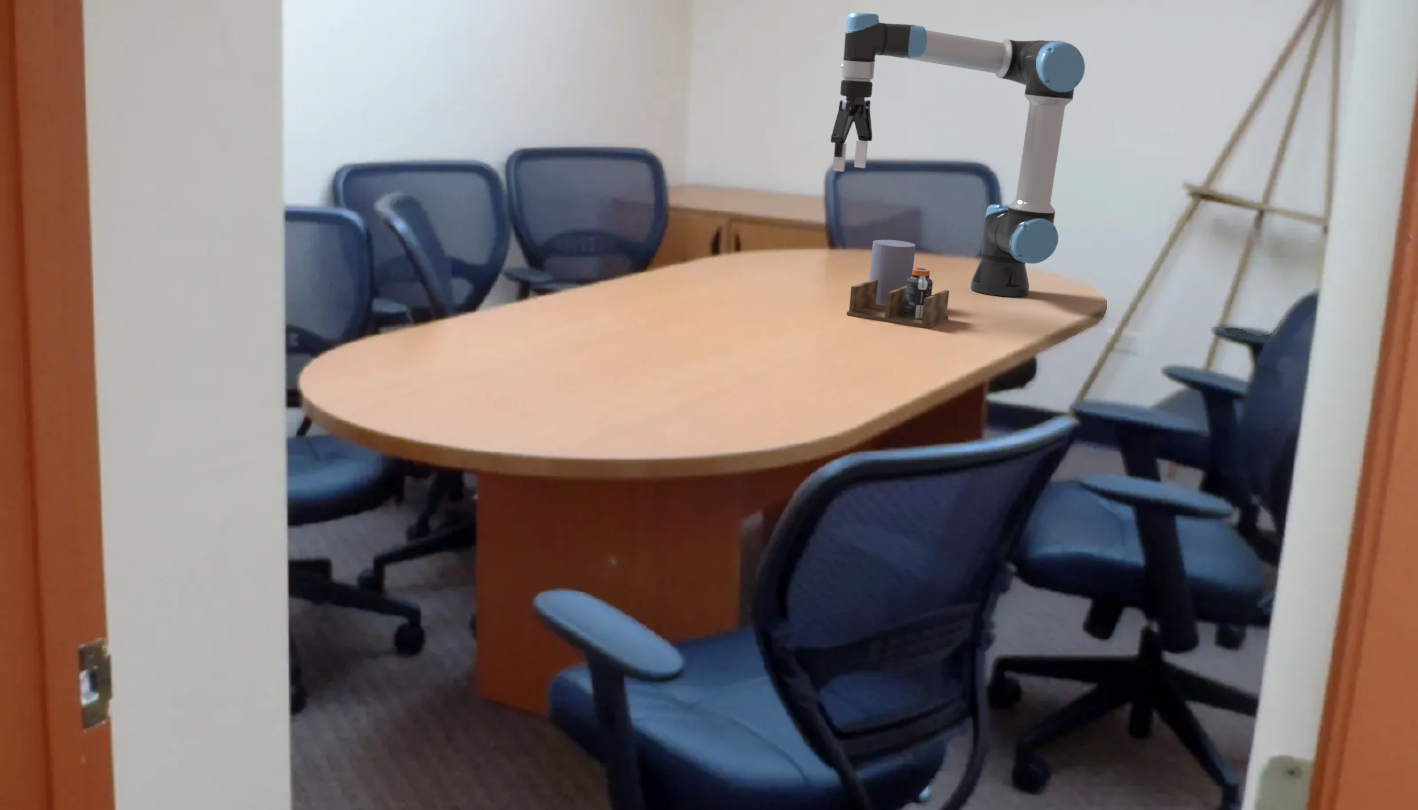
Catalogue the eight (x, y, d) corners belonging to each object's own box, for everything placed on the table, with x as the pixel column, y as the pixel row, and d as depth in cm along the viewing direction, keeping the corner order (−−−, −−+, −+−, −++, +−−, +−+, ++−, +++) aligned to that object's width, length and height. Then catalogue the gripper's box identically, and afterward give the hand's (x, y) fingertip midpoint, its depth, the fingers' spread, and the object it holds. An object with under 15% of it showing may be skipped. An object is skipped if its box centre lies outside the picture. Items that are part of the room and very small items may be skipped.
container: (872, 297, 340) (878, 238, 336) (913, 302, 337) (919, 242, 333) (862, 304, 330) (868, 243, 326) (904, 309, 327) (910, 248, 323)
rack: (869, 306, 329) (872, 278, 327) (948, 319, 319) (951, 290, 318) (846, 315, 317) (849, 286, 315) (927, 328, 308) (930, 299, 306)
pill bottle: (928, 320, 312) (933, 272, 309) (902, 317, 314) (907, 269, 310) (929, 315, 318) (934, 268, 315) (904, 313, 319) (909, 265, 316)
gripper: (862, 78, 336) (854, 164, 342) (821, 78, 315) (814, 170, 321) (890, 80, 333) (882, 167, 339) (851, 81, 312) (843, 174, 317)
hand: (849, 169), depth 330 cm, fingers open, 13 cm apart
